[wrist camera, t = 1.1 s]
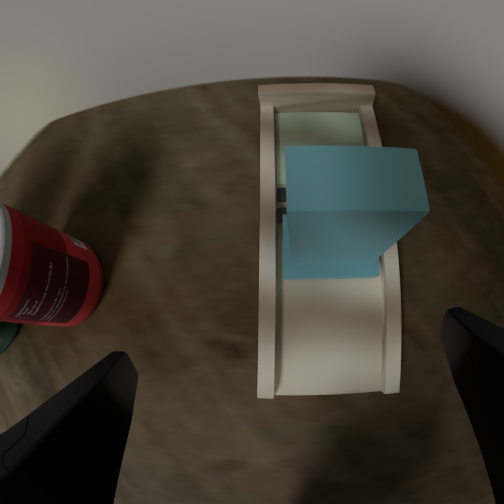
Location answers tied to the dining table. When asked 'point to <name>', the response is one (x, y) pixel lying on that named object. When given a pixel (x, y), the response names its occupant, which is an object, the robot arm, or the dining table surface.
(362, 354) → the box
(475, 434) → the robot arm
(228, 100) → the dining table surface
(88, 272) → the canned food
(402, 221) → the slider
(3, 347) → the coffee jar
